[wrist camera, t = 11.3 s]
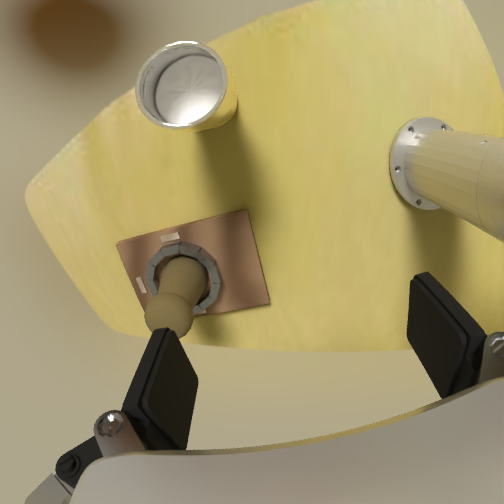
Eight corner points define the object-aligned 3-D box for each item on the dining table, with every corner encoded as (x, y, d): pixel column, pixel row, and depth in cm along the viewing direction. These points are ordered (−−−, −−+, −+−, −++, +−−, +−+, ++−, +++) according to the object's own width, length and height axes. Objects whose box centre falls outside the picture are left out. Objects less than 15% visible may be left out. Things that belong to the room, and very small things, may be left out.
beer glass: (252, 91, 30) (250, 61, 16) (222, 141, 33) (199, 149, 19) (199, 66, 29) (162, 26, 15) (171, 116, 31) (116, 110, 17)
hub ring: (208, 234, 36) (206, 238, 34) (229, 300, 39) (228, 306, 38) (139, 251, 37) (135, 255, 35) (164, 311, 40) (162, 317, 39)
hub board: (246, 208, 36) (246, 211, 34) (269, 298, 41) (269, 304, 39) (119, 241, 38) (114, 245, 36) (152, 319, 42) (149, 324, 41)
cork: (218, 276, 38) (206, 329, 28) (189, 303, 40) (170, 357, 30) (183, 245, 36) (158, 289, 26) (155, 274, 38) (126, 323, 28)
